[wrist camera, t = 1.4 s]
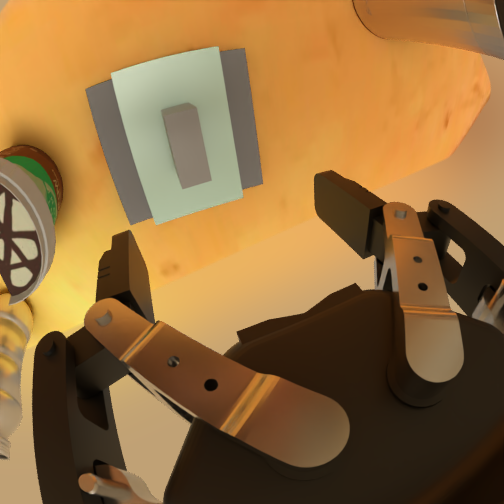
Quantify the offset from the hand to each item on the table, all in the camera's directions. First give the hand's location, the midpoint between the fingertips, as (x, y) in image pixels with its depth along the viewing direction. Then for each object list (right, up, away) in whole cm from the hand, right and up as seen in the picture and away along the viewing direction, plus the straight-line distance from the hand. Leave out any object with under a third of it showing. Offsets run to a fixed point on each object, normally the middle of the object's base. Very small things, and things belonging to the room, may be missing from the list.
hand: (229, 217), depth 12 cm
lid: (-5, +9, +12) cm, 16 cm away
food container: (-19, +5, +10) cm, 22 cm away
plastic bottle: (-29, -8, +15) cm, 34 cm away
